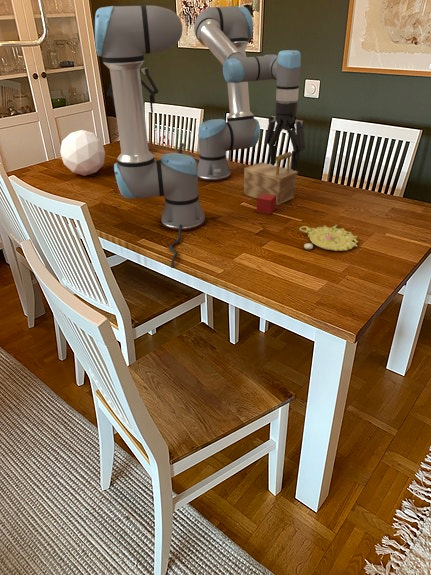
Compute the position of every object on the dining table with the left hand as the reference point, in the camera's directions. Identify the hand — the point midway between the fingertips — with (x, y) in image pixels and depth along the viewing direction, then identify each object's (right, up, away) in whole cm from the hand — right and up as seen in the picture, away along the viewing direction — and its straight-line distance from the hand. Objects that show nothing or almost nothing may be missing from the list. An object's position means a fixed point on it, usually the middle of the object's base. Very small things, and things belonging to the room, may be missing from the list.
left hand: (135, 113), depth 181 cm
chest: (+54, -35, -6) cm, 65 cm away
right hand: (+58, -26, -16) cm, 66 cm away
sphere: (-27, -18, +25) cm, 41 cm away
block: (+52, -43, -18) cm, 69 cm away
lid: (+54, -27, -11) cm, 61 cm away
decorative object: (+69, -56, -39) cm, 97 cm away
